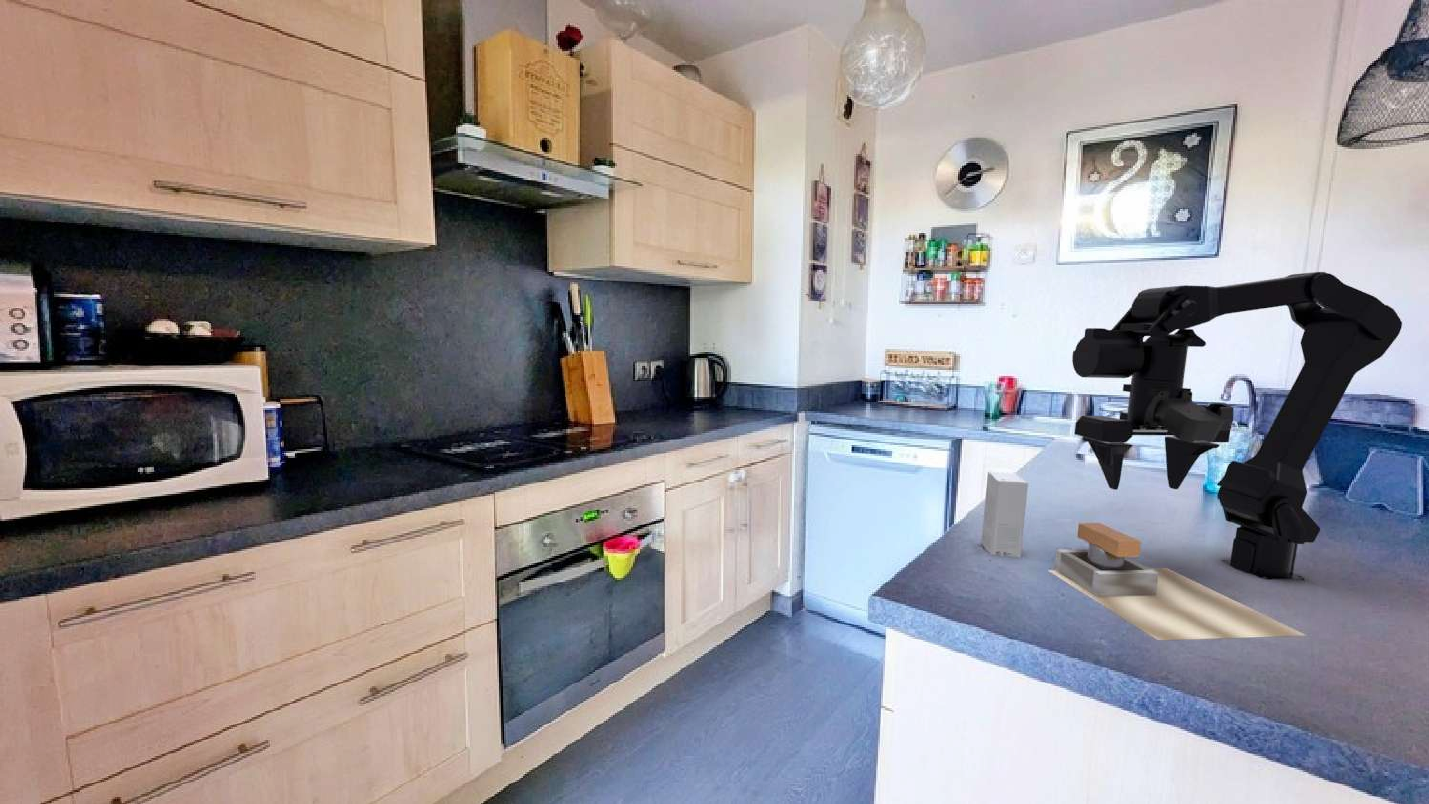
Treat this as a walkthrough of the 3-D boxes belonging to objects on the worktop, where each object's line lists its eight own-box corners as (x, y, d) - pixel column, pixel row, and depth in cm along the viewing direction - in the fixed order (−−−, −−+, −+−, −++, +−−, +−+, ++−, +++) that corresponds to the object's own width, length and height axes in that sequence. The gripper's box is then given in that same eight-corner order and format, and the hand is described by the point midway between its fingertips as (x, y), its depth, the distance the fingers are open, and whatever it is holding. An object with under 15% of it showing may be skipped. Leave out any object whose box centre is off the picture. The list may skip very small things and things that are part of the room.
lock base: (1165, 571, 81) (1168, 547, 81) (1305, 640, 64) (1310, 610, 63) (1047, 574, 80) (1049, 549, 79) (1157, 645, 62) (1161, 614, 61)
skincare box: (1021, 561, 84) (1029, 482, 82) (990, 558, 85) (997, 480, 83) (1009, 546, 90) (1015, 472, 88) (980, 543, 91) (986, 470, 89)
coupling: (1070, 571, 79) (1075, 523, 78) (1097, 570, 80) (1102, 522, 79) (1109, 594, 72) (1115, 541, 72) (1138, 593, 73) (1144, 541, 72)
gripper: (1143, 384, 70) (1128, 507, 72) (1280, 385, 71) (1262, 506, 73) (1077, 376, 81) (1066, 483, 83) (1198, 377, 82) (1184, 482, 84)
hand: (1143, 488), depth 80 cm, fingers open, 9 cm apart
